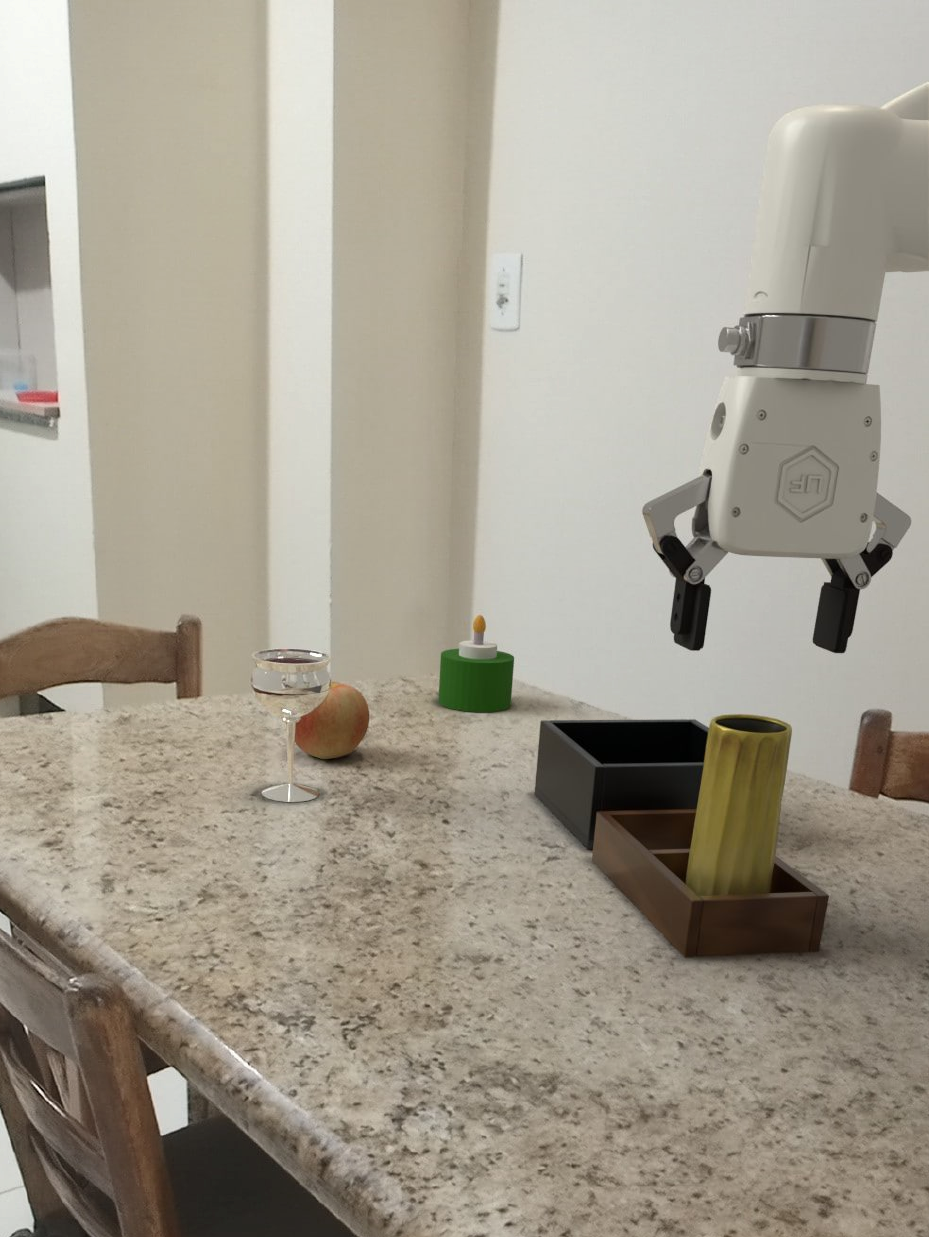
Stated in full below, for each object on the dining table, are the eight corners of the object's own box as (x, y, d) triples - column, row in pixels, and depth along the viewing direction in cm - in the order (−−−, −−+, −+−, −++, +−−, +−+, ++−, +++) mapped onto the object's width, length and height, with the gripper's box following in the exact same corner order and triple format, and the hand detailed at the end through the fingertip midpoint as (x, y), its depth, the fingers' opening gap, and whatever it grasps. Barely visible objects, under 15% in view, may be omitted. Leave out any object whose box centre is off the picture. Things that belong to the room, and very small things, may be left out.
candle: (516, 699, 151) (522, 612, 147) (504, 715, 144) (510, 624, 140) (446, 692, 153) (451, 606, 149) (431, 707, 145) (435, 617, 142)
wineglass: (287, 810, 109) (288, 667, 104) (235, 791, 113) (234, 653, 108) (345, 795, 113) (348, 658, 109) (293, 777, 118) (294, 645, 113)
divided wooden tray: (706, 856, 103) (713, 808, 101) (819, 951, 86) (829, 895, 85) (591, 860, 101) (596, 811, 99) (684, 958, 84) (692, 900, 83)
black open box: (686, 791, 119) (695, 719, 117) (756, 844, 106) (768, 764, 104) (534, 794, 116) (540, 720, 114) (587, 849, 103) (595, 766, 100)
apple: (305, 770, 120) (306, 684, 117) (273, 748, 127) (273, 666, 124) (382, 762, 124) (385, 679, 121) (348, 741, 130) (350, 662, 127)
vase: (767, 915, 92) (798, 717, 86) (768, 949, 86) (801, 739, 81) (679, 904, 93) (705, 708, 87) (675, 936, 87) (701, 729, 82)
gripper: (691, 343, 71) (652, 657, 77) (973, 364, 74) (913, 662, 81) (641, 346, 77) (609, 634, 84) (901, 364, 81) (852, 639, 87)
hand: (758, 648), depth 82 cm, fingers open, 9 cm apart
